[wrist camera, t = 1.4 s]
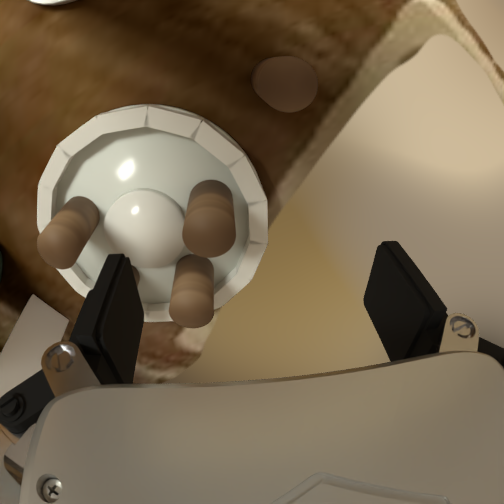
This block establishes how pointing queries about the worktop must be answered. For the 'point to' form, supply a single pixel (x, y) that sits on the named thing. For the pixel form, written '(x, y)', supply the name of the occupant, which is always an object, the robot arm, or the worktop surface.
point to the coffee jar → (0, 265)
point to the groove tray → (153, 198)
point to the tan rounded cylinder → (285, 83)
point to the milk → (29, 342)
